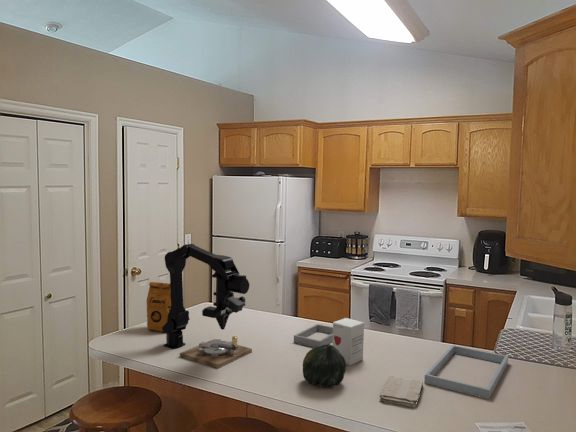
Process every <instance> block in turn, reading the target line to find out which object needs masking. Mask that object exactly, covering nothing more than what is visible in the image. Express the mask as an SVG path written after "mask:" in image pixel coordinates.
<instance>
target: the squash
mask: <svg viewBox="0 0 576 432" xmlns="http://www.w3.org/2000/svg"><path fill="white" fill-rule="evenodd" d="M332 345H333V344H331V343H329V344H327V345H322V346H319V347H316V348H315V347H312V348H311V349H310V350H308V352H306V354H305V357H304V358H303V361H302V375H303V378H304V380H305V381H306V382H308V383H309V384H313V385H314V386H318V385H319V387H325V388H327V389H332V388H334V387H337V386H339V385H340V384H341V383H342V382H343V380H344V378H345V377H344V376H345V374H346V372H347V364H346V361H345V359H344V357H343V356H342V354H341V353H340V352H339V351H338V350H337V349H336V348H335V347H334V346H332Z"/></svg>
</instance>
